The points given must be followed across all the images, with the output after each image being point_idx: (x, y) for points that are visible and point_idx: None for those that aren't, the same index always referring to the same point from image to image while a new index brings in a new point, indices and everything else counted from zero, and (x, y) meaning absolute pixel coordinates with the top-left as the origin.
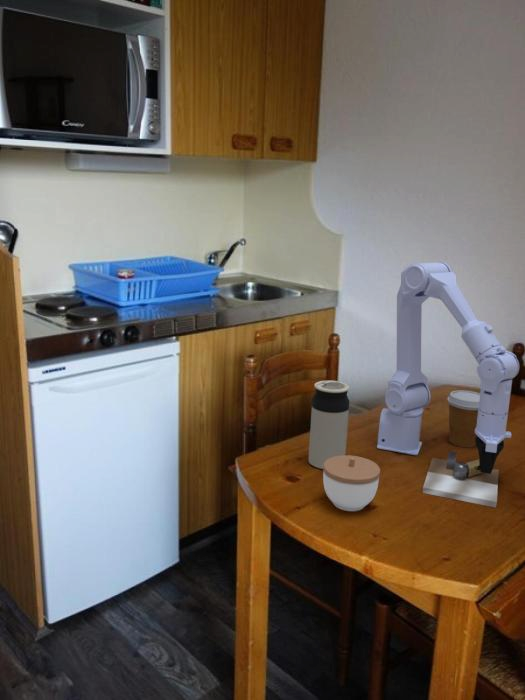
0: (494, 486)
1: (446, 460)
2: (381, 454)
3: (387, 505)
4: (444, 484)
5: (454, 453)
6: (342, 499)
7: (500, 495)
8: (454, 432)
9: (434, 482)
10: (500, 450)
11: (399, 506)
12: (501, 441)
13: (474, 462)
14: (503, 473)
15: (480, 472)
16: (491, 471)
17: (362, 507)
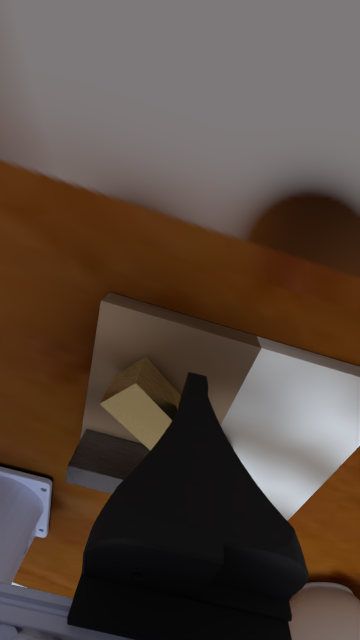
0: (275, 364)
1: None
2: (76, 528)
3: (335, 560)
4: (262, 487)
5: (82, 474)
6: None
7: (297, 335)
8: None
9: None
10: (284, 522)
11: (343, 548)
12: (183, 565)
13: (152, 437)
14: (83, 262)
15: (175, 392)
16: (207, 382)
17: (348, 591)
